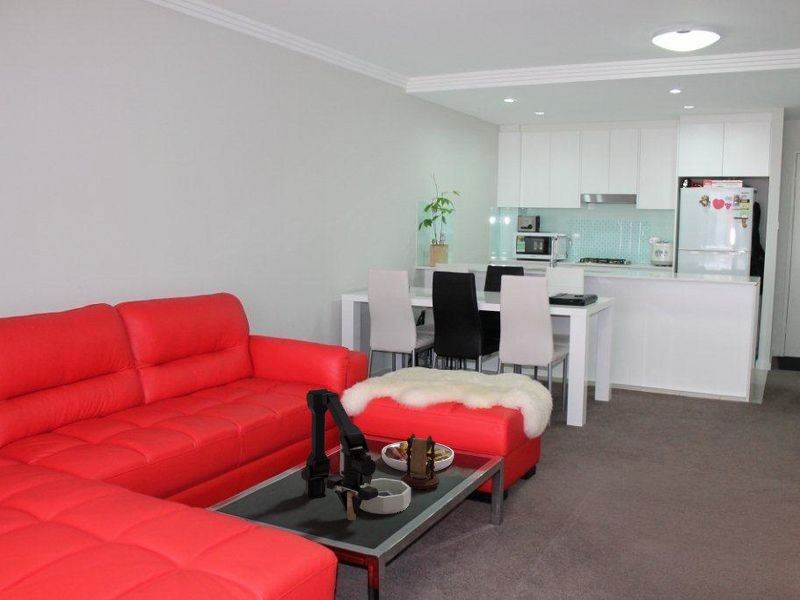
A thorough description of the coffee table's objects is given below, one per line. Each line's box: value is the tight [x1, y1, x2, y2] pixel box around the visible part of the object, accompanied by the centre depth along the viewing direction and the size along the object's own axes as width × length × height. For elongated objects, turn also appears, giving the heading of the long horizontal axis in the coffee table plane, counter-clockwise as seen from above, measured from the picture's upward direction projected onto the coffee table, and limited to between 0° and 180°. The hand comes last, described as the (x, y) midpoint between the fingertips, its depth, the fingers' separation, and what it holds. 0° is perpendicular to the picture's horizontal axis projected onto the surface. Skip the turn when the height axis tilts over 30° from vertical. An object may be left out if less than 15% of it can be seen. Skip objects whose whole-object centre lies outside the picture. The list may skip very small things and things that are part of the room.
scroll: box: [400, 432, 440, 492], centre depth 286 cm, size 15×15×20 cm
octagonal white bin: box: [359, 477, 412, 515], centre depth 268 cm, size 18×18×6 cm
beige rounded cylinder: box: [346, 491, 357, 521], centre depth 254 cm, size 3×3×9 cm
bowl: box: [381, 440, 455, 473], centre depth 314 cm, size 30×30×8 cm
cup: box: [339, 443, 362, 477], centre depth 298 cm, size 8×8×12 cm
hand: (351, 512), depth 254 cm, fingers open, 4 cm apart
